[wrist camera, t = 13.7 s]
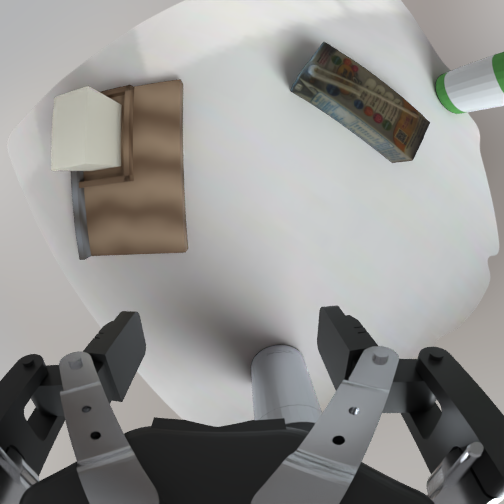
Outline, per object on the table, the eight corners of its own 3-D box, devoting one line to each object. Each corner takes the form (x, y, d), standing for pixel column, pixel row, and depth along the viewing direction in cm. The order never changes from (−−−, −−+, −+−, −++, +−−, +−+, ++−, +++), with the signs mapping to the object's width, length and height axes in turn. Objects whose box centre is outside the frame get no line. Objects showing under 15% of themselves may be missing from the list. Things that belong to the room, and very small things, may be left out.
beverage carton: (313, 55, 33) (325, 36, 27) (411, 127, 36) (435, 122, 30) (288, 91, 35) (297, 76, 28) (392, 165, 38) (415, 164, 31)
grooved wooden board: (187, 248, 39) (182, 256, 36) (90, 252, 39) (78, 259, 35) (183, 83, 34) (177, 74, 30) (84, 103, 33) (71, 97, 29)
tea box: (121, 105, 32) (88, 85, 22) (121, 166, 34) (85, 163, 24) (90, 112, 32) (52, 97, 22) (89, 171, 34) (49, 171, 24)
